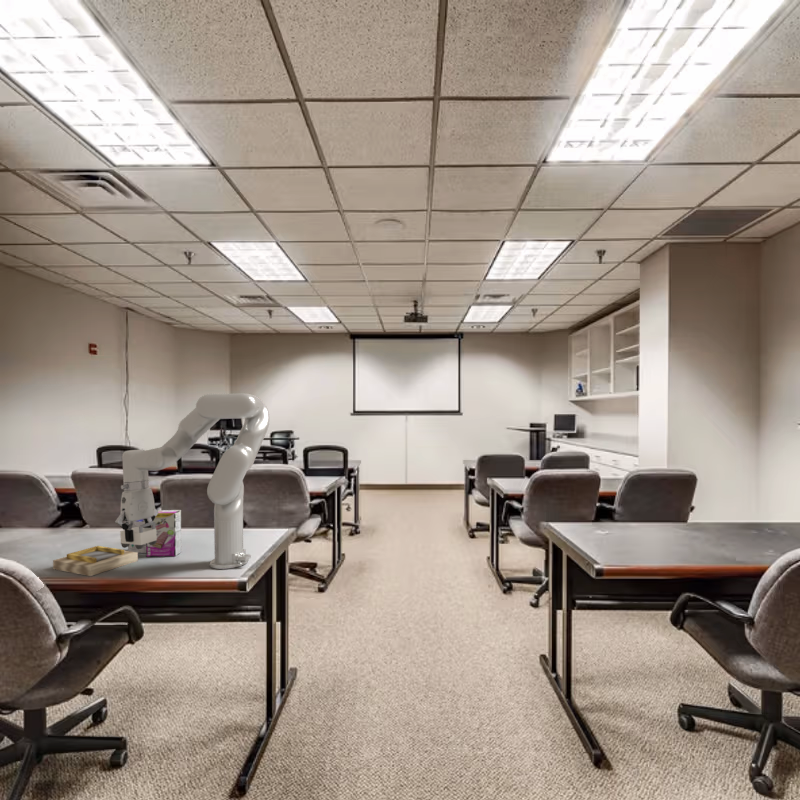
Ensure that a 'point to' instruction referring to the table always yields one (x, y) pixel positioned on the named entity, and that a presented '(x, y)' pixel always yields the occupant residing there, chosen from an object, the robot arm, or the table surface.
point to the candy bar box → (166, 534)
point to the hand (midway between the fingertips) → (138, 538)
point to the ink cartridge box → (132, 546)
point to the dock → (94, 560)
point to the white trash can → (141, 536)
